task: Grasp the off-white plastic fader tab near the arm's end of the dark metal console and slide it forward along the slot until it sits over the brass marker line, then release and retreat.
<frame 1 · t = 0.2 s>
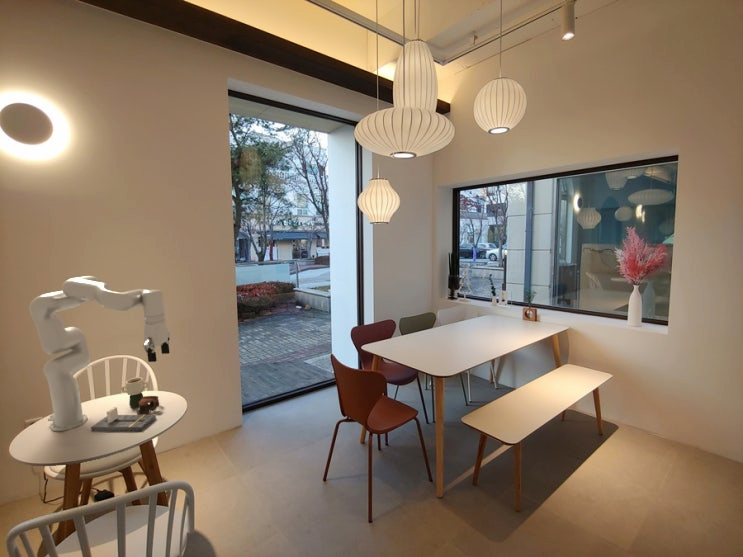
hand: (159, 357, 153), 31 cm above the table, fingers open, 9 cm apart
console: (124, 425, 157), on the table
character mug: (137, 405, 175), on the table
pottery mug: (150, 411, 170), on the table
fader tab: (112, 414, 156), point 5 cm above the table, slide at -5.0 cm
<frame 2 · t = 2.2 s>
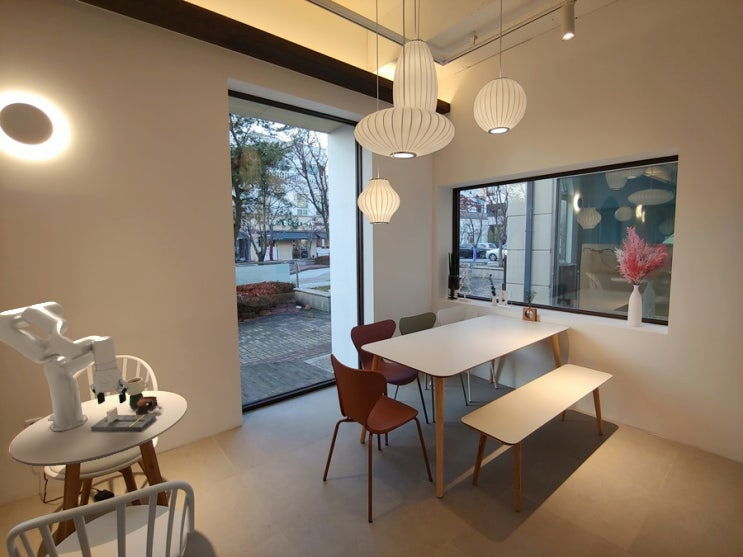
hand: (112, 402, 156), 11 cm above the table, fingers open, 9 cm apart
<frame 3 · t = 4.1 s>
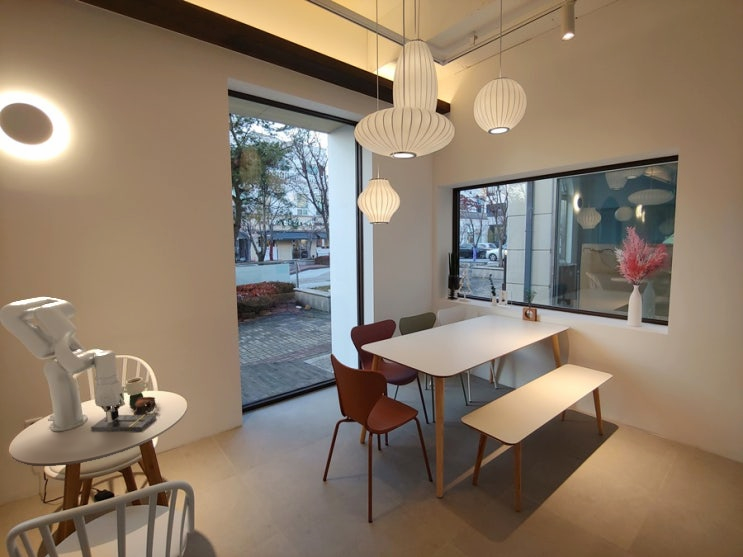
hand: (112, 418, 157), 3 cm above the table, fingers closed on fader tab
fader tab: (112, 414, 156), point 5 cm above the table, slide at -5.0 cm, touching gripper
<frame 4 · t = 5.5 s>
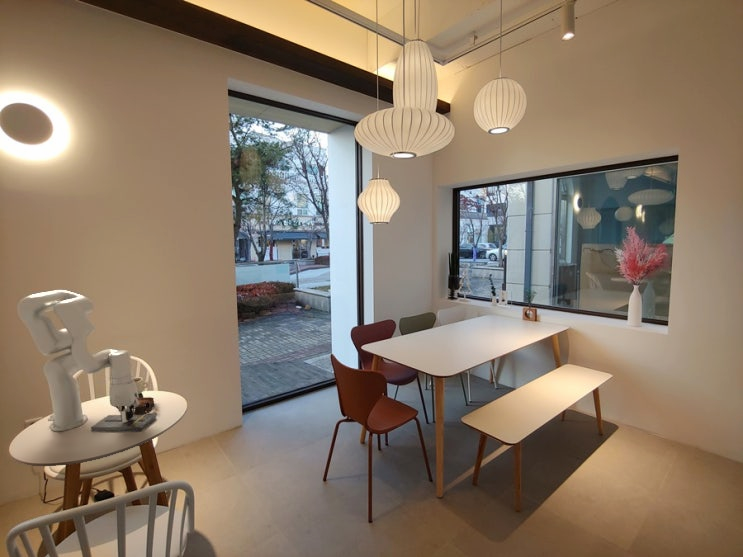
hand: (127, 418, 156), 3 cm above the table, fingers closed on fader tab
fader tab: (126, 414, 156), point 5 cm above the table, slide at 1.6 cm, touching gripper
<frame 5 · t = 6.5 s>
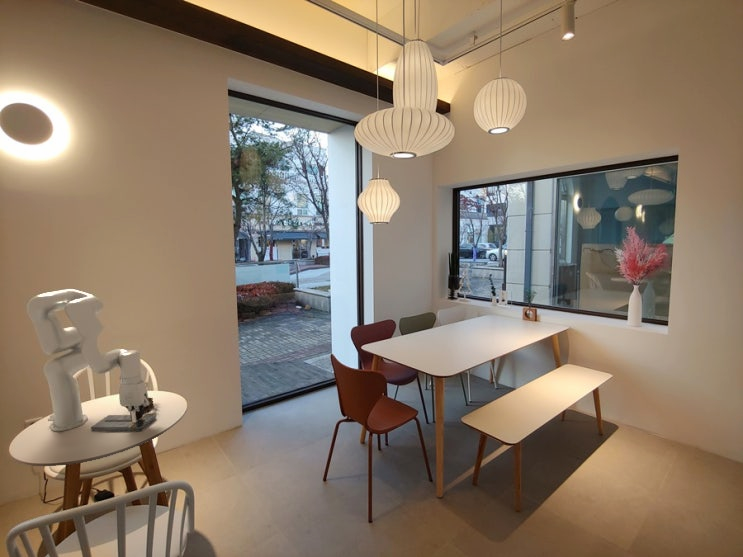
hand: (137, 418, 156), 3 cm above the table, fingers closed on fader tab
fader tab: (136, 414, 156), point 5 cm above the table, slide at 6.0 cm, touching gripper
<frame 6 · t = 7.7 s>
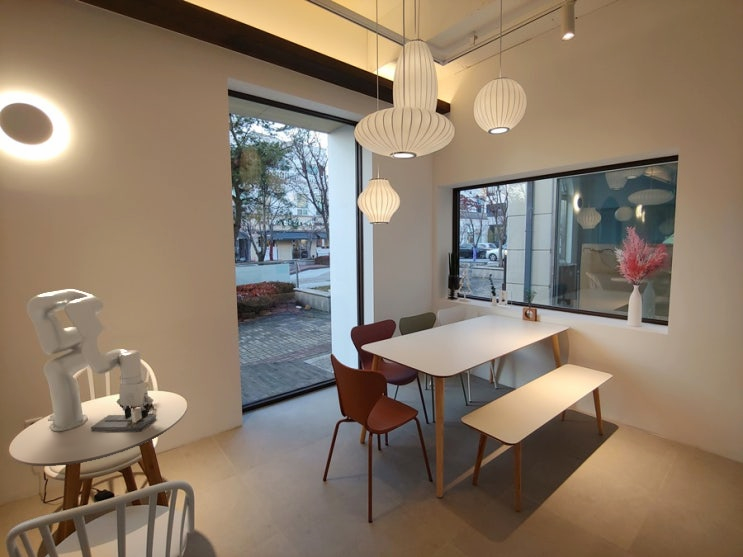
hand: (136, 417, 156), 4 cm above the table, fingers open, 6 cm apart
fader tab: (136, 414, 156), point 5 cm above the table, slide at 6.0 cm
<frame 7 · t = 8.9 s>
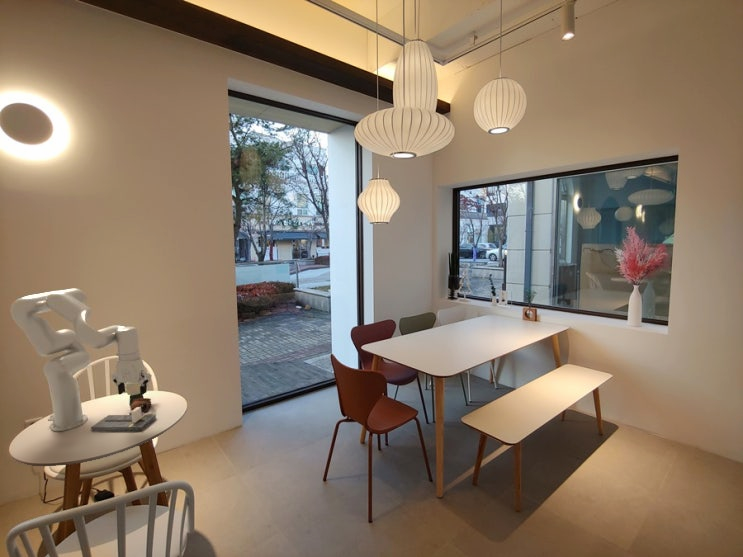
hand: (132, 393, 155), 15 cm above the table, fingers open, 9 cm apart
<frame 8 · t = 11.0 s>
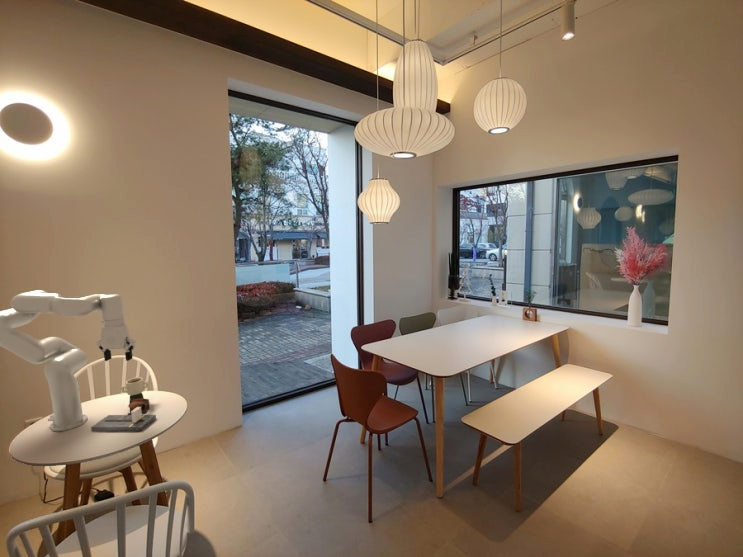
hand: (118, 359, 158), 28 cm above the table, fingers open, 9 cm apart
at the end: fader tab slide at 6.0 cm; the gripper is holding nothing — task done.
